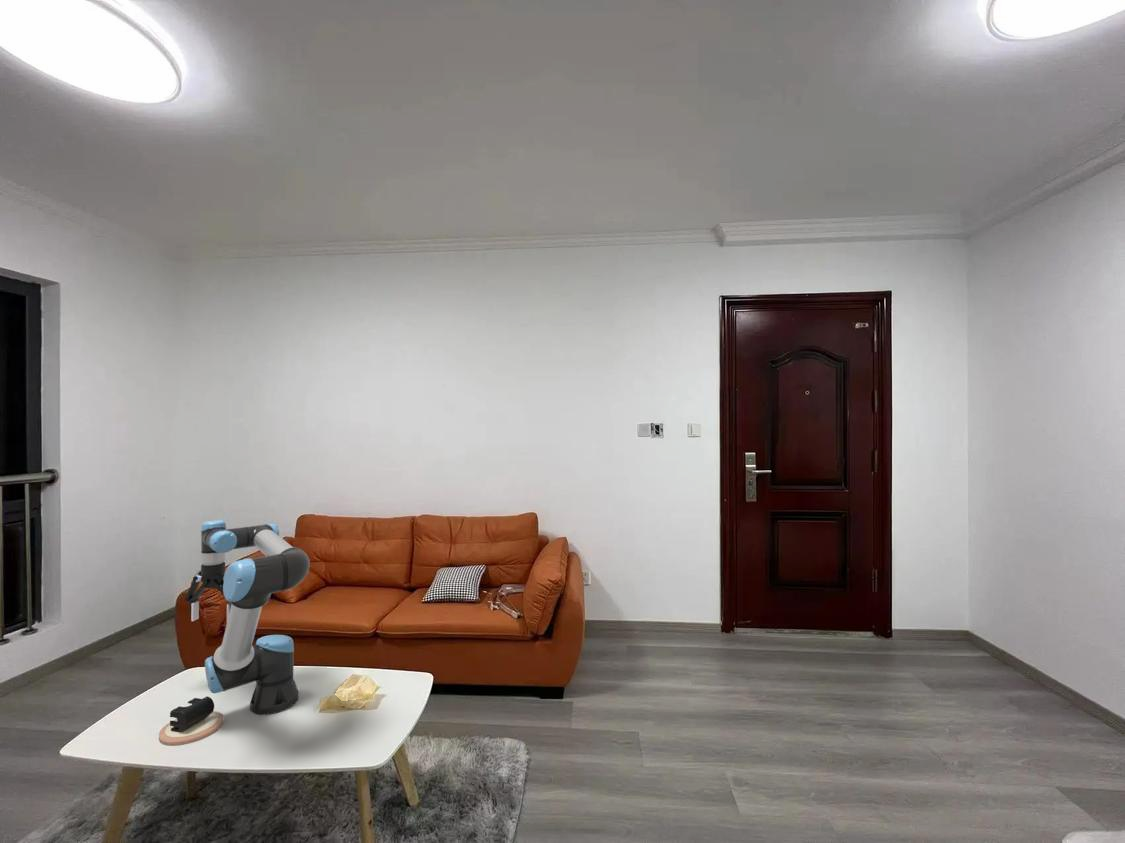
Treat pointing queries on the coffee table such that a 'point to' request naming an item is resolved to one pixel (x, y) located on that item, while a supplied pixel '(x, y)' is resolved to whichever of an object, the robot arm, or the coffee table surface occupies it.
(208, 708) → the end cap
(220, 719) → the plate
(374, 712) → the coffee table surface
